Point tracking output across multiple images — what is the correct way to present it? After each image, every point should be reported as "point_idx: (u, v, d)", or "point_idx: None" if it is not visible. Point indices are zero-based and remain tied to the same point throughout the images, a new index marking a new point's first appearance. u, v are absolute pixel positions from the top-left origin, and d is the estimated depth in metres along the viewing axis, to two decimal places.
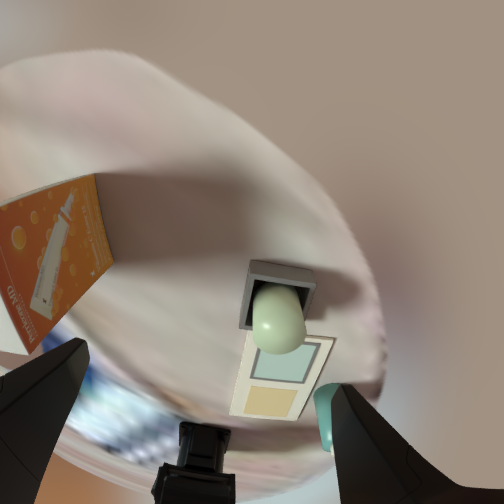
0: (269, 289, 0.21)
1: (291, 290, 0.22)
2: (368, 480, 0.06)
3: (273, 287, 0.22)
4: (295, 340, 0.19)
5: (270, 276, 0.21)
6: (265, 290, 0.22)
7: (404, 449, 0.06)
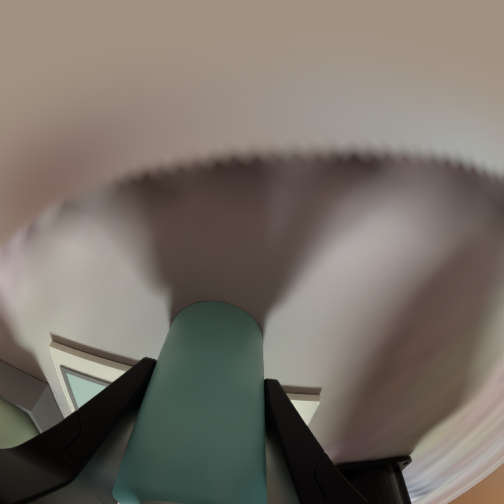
0: None
1: None
2: (276, 485, 0.06)
3: None
4: None
5: None
6: None
7: (315, 457, 0.06)
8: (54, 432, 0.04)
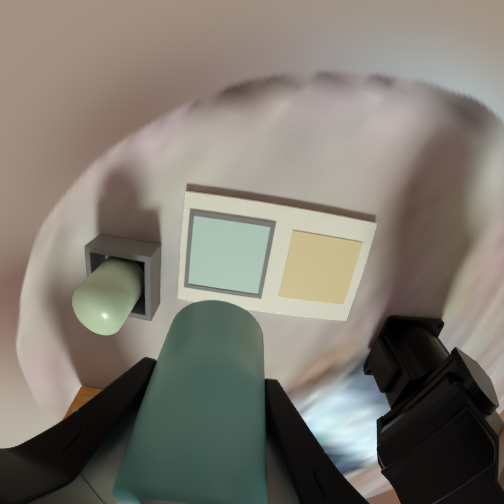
0: None
1: None
2: (276, 485, 0.06)
3: None
4: (98, 295, 0.15)
5: None
6: None
7: (315, 457, 0.06)
8: (54, 432, 0.04)
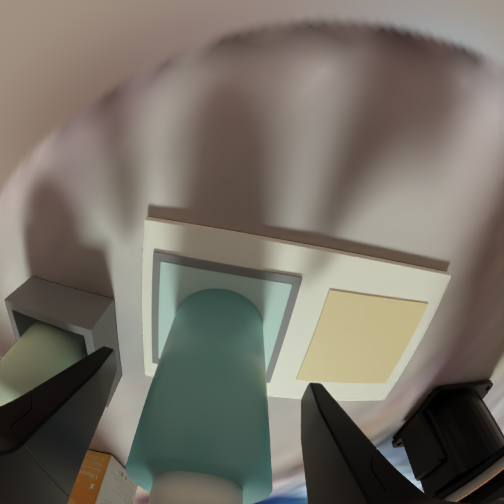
0: None
1: None
2: (331, 484, 0.06)
3: None
4: (14, 392, 0.07)
5: None
6: None
7: (370, 454, 0.06)
8: (8, 408, 0.04)
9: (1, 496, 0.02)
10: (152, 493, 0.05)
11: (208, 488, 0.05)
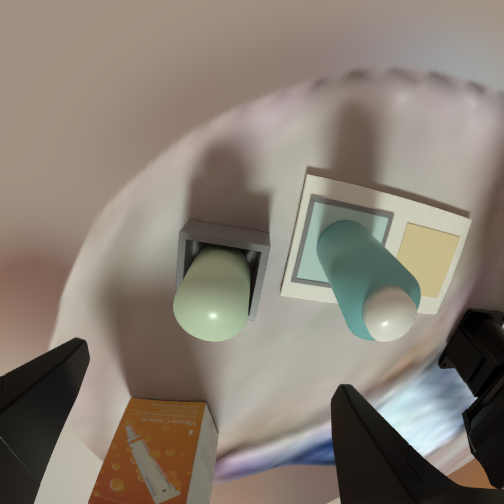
0: None
1: (193, 260, 0.17)
2: (368, 480, 0.06)
3: None
4: (218, 291, 0.13)
5: (176, 287, 0.17)
6: None
7: (404, 449, 0.06)
8: None
9: None
10: (373, 302, 0.11)
11: (401, 289, 0.11)
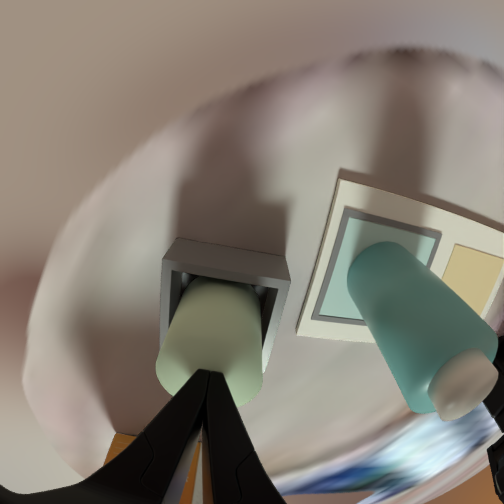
0: None
1: (183, 295, 0.12)
2: (205, 479, 0.06)
3: None
4: (220, 354, 0.09)
5: (160, 330, 0.12)
6: None
7: (242, 454, 0.06)
8: (124, 459, 0.05)
9: None
10: (451, 378, 0.06)
11: (483, 355, 0.06)
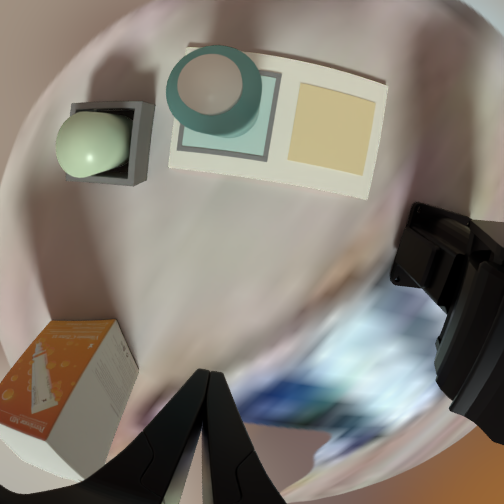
0: None
1: None
2: (205, 479, 0.06)
3: None
4: (86, 122, 0.12)
5: None
6: None
7: (242, 454, 0.06)
8: (124, 459, 0.05)
9: None
10: None
11: None
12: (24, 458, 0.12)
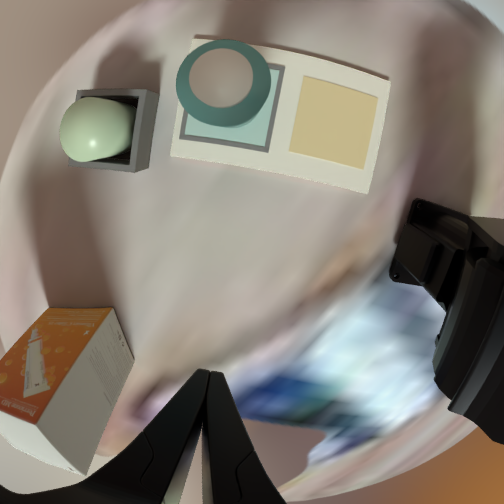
0: None
1: None
2: (205, 479, 0.06)
3: None
4: (91, 107, 0.12)
5: None
6: None
7: (242, 454, 0.06)
8: (124, 459, 0.05)
9: None
10: None
11: None
12: (15, 444, 0.12)
